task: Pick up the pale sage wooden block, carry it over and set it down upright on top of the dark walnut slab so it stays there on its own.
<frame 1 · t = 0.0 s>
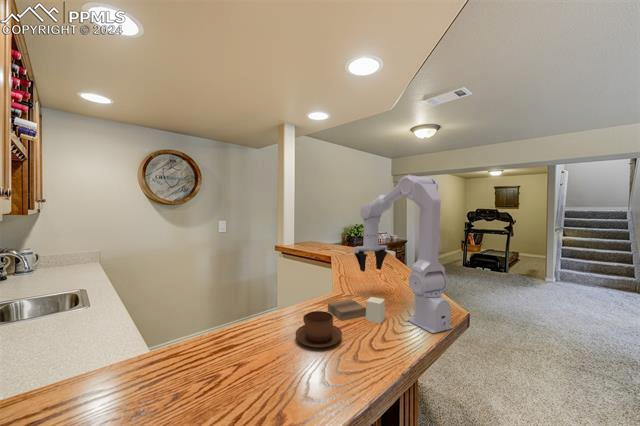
hand: (370, 270, 103), 10 cm above the counter, tool pointing down, fingers open, 7 cm apart
walnut slab: (346, 314, 86), on the counter
cup and saucer: (318, 340, 68), on the counter
sage block: (375, 319, 81), on the counter
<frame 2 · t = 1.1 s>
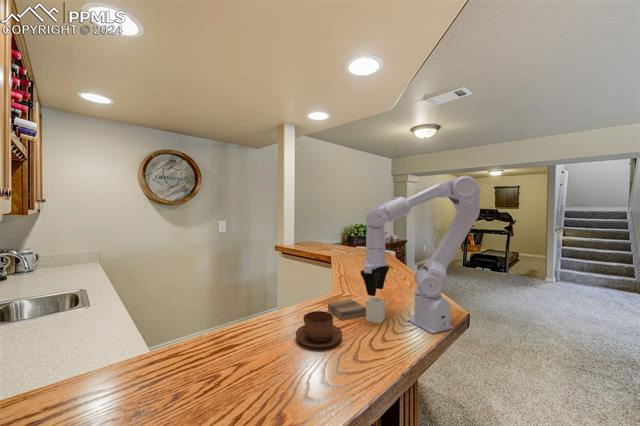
hand: (375, 291, 81), 8 cm above the counter, tool pointing down, fingers open, 7 cm apart
nothing on the counter moved.
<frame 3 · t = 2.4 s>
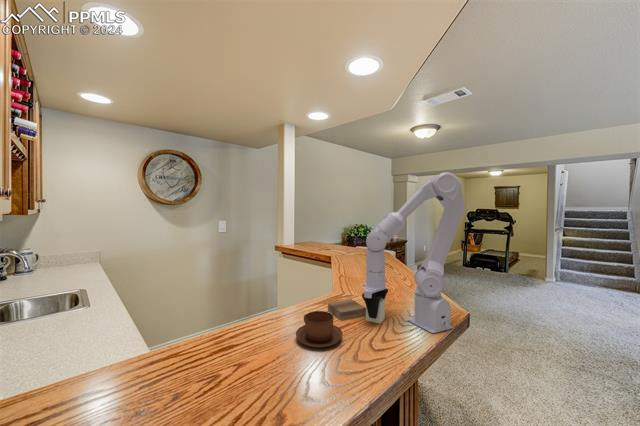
hand: (375, 314, 81), 1 cm above the counter, tool pointing down, fingers closed on sage block, 4 cm apart
sage block: (375, 319, 81), on the counter, touching gripper
everything else where it was.
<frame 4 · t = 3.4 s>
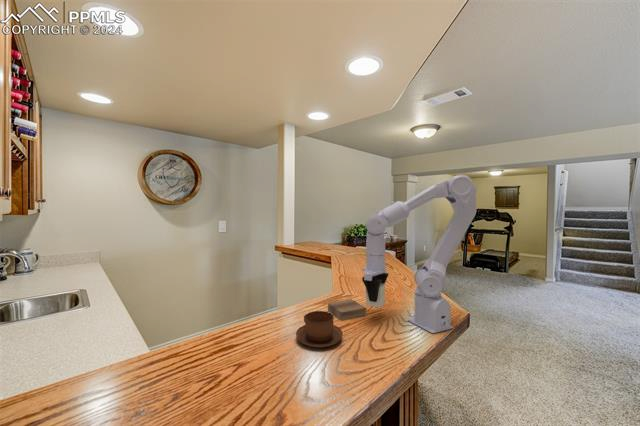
hand: (375, 298, 81), 6 cm above the counter, tool pointing down, fingers closed on sage block, 4 cm apart
sage block: (375, 304, 81), point 5 cm above the counter, touching gripper
everything else where it was.
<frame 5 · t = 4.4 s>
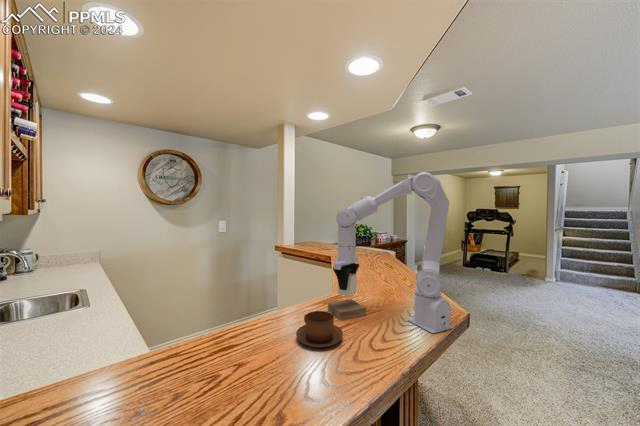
hand: (346, 287, 86), 8 cm above the counter, tool pointing down, fingers closed on sage block, 4 cm apart
sage block: (347, 293, 86), point 7 cm above the counter, touching gripper
everything else where it was.
when the fingers open (5 cm above the counter, at t = 5.7 s): sage block drops 1 cm, resting on walnut slab.
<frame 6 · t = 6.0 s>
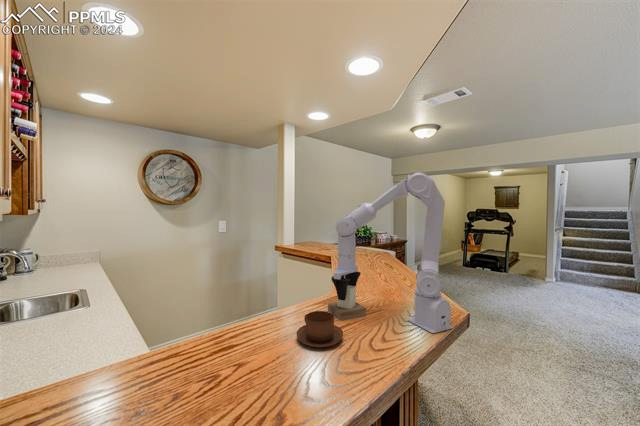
hand: (346, 296, 86), 5 cm above the counter, tool pointing down, fingers open, 7 cm apart
walnut slab: (346, 314, 86), on the counter, touching sage block
sage block: (346, 305, 86), point 2 cm above the counter, touching walnut slab
everything else where it was.
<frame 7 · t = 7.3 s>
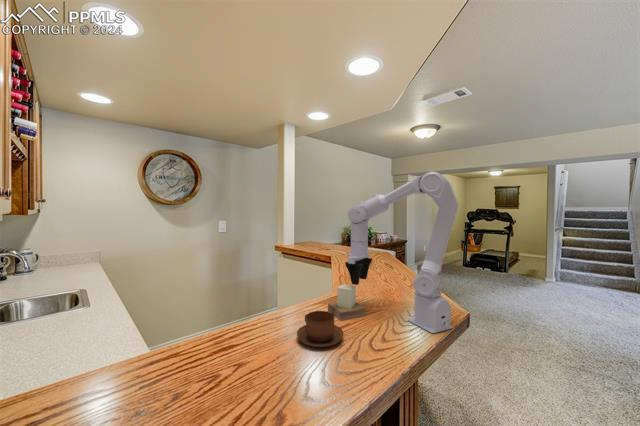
hand: (359, 281, 89), 9 cm above the counter, tool pointing down, fingers open, 7 cm apart
nothing on the counter moved.
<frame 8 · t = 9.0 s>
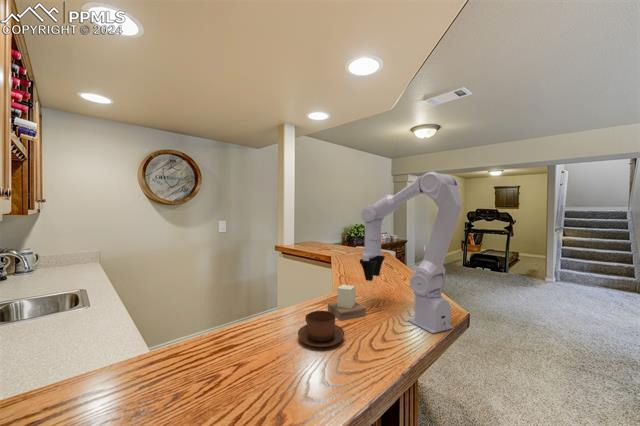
hand: (372, 277, 94), 9 cm above the counter, tool pointing down, fingers open, 7 cm apart
nothing on the counter moved.
at the end: sage block 0.1 cm off-centre on the walnut slab, point 3.0 cm above the walnut slab's base; sage block tilted 1°; the gripper is holding nothing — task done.
